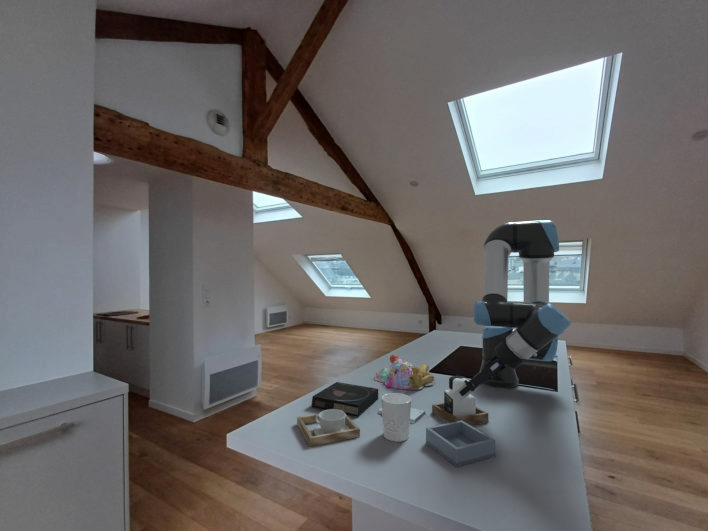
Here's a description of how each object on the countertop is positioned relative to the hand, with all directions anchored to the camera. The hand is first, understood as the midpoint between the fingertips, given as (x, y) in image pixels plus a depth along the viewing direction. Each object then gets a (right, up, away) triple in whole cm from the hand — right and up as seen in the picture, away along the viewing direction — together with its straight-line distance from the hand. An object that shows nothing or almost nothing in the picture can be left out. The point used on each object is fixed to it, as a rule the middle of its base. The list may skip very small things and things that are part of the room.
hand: (461, 393), depth 100 cm
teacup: (-39, -7, -9) cm, 40 cm away
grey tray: (-6, -7, -18) cm, 20 cm away
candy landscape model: (-12, -9, +36) cm, 39 cm away
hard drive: (-18, -8, +3) cm, 20 cm away
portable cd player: (-35, -8, +11) cm, 38 cm away
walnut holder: (0, -8, +1) cm, 8 cm away
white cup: (-21, -7, -11) cm, 25 cm away
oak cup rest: (-40, -7, -8) cm, 41 cm away
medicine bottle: (0, -8, +1) cm, 8 cm away
